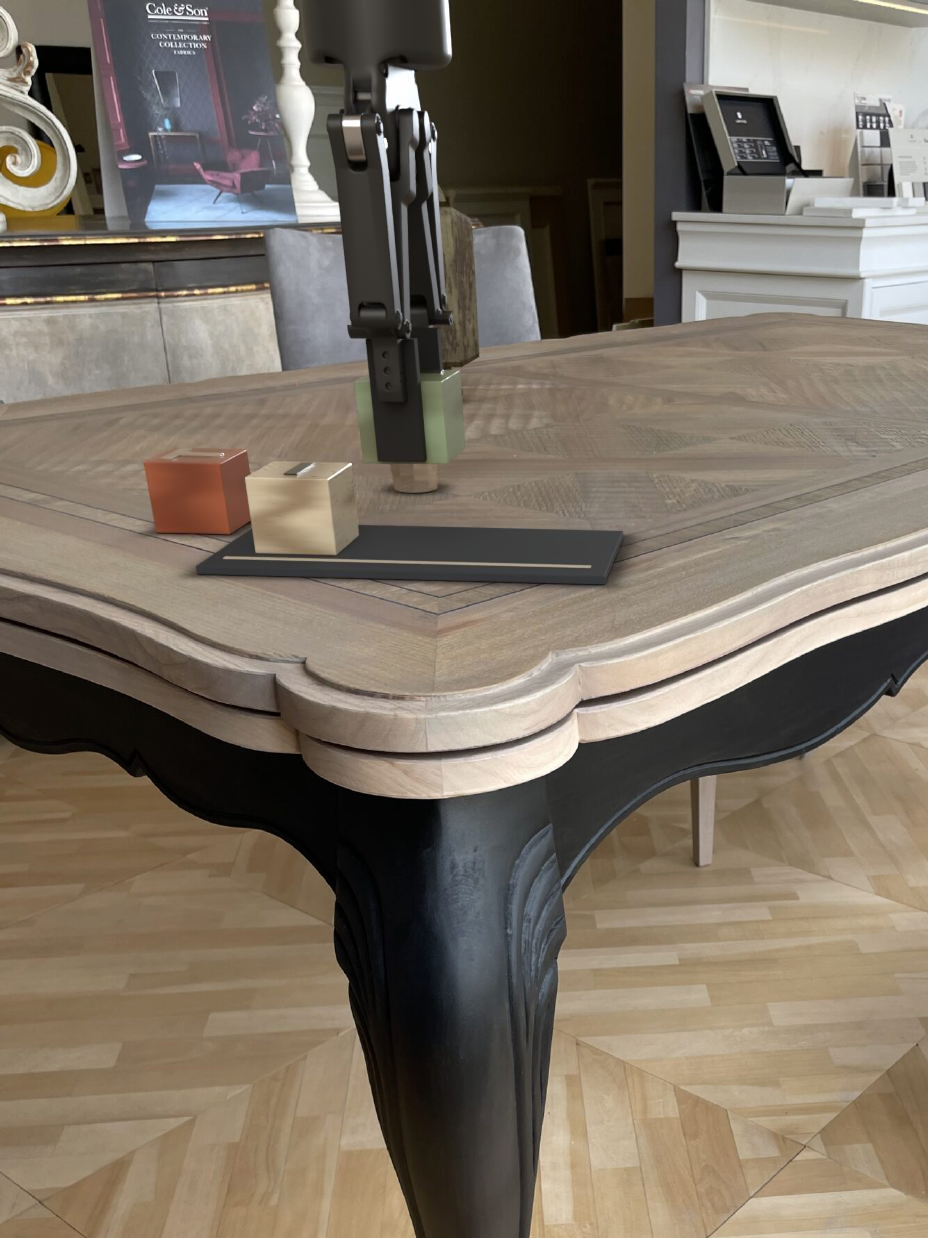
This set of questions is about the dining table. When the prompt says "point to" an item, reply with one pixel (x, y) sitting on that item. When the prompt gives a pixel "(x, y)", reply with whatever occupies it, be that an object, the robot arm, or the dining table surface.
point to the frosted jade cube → (438, 416)
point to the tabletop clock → (458, 289)
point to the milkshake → (414, 477)
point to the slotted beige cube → (302, 507)
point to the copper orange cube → (199, 490)
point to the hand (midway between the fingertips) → (414, 450)
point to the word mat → (438, 556)
